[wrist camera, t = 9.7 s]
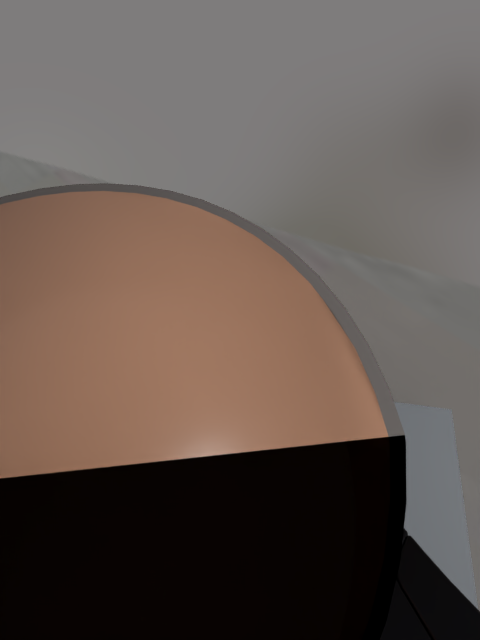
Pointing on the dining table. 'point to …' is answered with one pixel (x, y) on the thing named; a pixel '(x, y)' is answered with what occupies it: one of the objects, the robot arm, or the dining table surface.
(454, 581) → the dock unit
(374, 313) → the dining table surface
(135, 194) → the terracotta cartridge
